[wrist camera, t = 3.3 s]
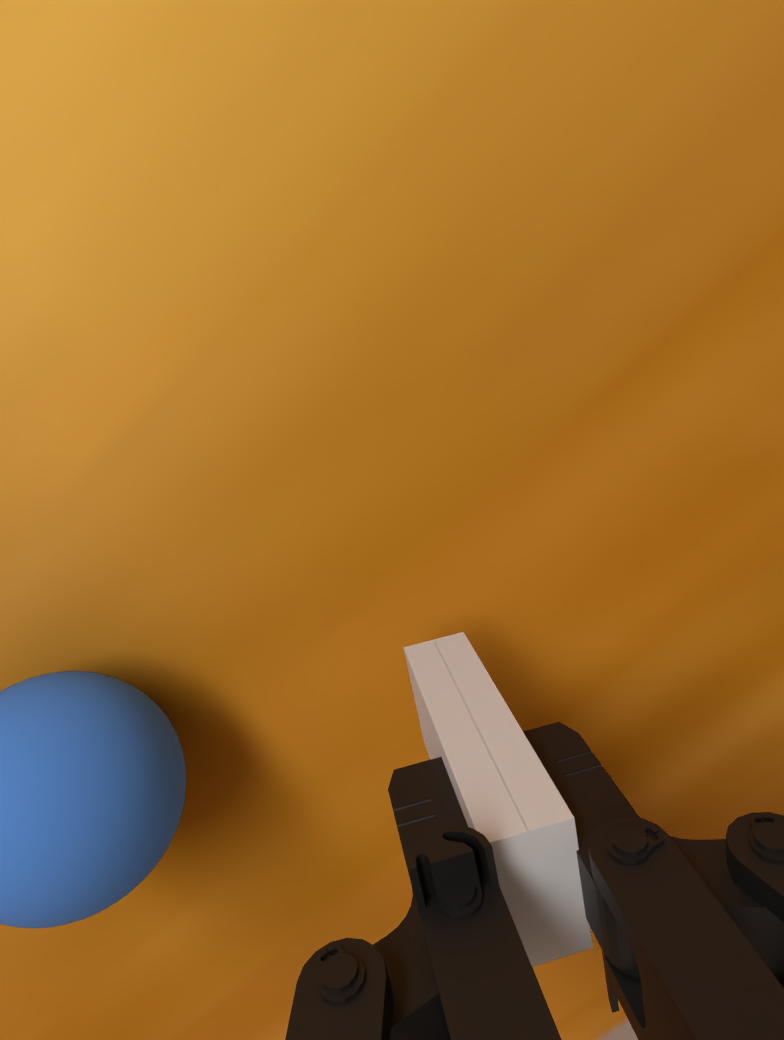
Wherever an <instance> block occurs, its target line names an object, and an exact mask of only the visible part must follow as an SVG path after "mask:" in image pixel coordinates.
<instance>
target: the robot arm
mask: <svg viewBox="0 0 784 1040" xmlns="http://www.w3.org/2000/svg"><path fill="white" fill-rule="evenodd" d="M404 652H405V657H406V662H407V666H408V671H409V675H410V680H411V685H412V689H413V694H414V698H415V703H416V707H417V712H418V717H419V721H420V726H421V730H422V735H423V740H424V743H425V746H426V749H427V752H428V755H429V757H430V760H427V761H424V762H420V763H417V764H413V765H410V766H406V767H402V768H399V769H395V770H394V771H393V775H392V778H391V781H390V785H389V788H388V791H389V795H390V799H391V803H392V807H393V811H394V816H395V820H396V824H397V828H398V832H399V836H400V840H401V844H402V848H403V853H404V857H405V861H406V865H407V869H408V873H409V877H410V881H411V885H412V890H413V898H412V903H411V907H410V909H409V911H408V913H407V915H406V917H405V918H404V920H403V921H402V922H401V923H400V925H399V926H398V927H397V928H396V929H395V930H393V931H392V932H391V933H390V934H388V935H387V936H386V937H384V938H383V939H381V940H380V941H378V942H377V943H375V944H374V945H372V944H370V943H368V942H366V941H365V940H363V939H353V938H345V939H341V940H337V941H333V942H330V943H329V944H327V945H325V946H324V947H322V948H321V949H319V950H318V951H316V952H315V953H314V954H313V955H312V957H311V958H310V959H309V960H308V961H307V962H306V964H305V965H304V966H303V969H302V971H301V974H300V976H299V979H298V981H297V985H296V990H295V995H294V1000H293V1005H292V1010H291V1015H290V1020H289V1025H288V1029H287V1034H286V1039H285V1040H561V1038H560V1035H559V1033H558V1030H557V1028H556V1025H555V1023H554V1020H553V1018H552V1015H551V1013H550V1010H549V1008H548V1005H547V1003H546V1000H545V998H544V995H543V993H542V990H541V988H540V985H539V983H538V981H537V978H536V976H535V973H534V971H533V968H532V967H534V966H537V965H540V964H543V963H546V962H550V961H553V960H556V959H559V958H562V957H565V956H569V955H572V954H575V953H578V952H581V951H584V950H588V949H591V948H593V946H592V939H591V932H590V927H591V929H592V931H593V933H594V935H595V937H596V939H597V940H598V942H599V944H600V946H601V948H602V953H603V961H604V968H605V975H606V982H607V990H608V997H609V1001H610V1005H611V1009H612V1013H613V1012H616V1011H619V1007H618V1000H619V1002H620V1004H621V1006H622V1008H623V1010H624V1012H625V1014H626V1016H627V1018H628V1020H629V1022H630V1024H631V1026H632V1028H633V1030H634V1032H635V1033H636V1035H637V1038H638V1040H784V816H783V815H779V814H774V813H770V812H765V813H750V814H747V815H744V816H741V817H738V818H737V819H736V820H735V821H734V822H733V823H732V824H730V825H729V826H728V830H727V834H726V839H722V840H688V839H679V838H675V837H671V836H669V835H668V834H667V833H666V832H665V831H664V830H663V829H661V828H660V827H659V826H658V825H656V824H654V823H652V822H649V821H647V820H645V819H642V818H640V817H639V816H638V815H637V813H636V812H635V810H634V809H633V808H632V806H631V805H630V804H629V802H628V801H627V799H626V798H625V797H624V795H623V794H622V792H621V791H620V790H619V788H618V787H617V786H616V784H615V783H614V781H613V780H612V779H611V777H610V776H609V775H608V773H607V772H606V770H605V769H604V768H603V767H601V763H600V762H599V761H598V759H597V758H596V757H595V755H594V754H592V752H591V750H590V748H589V747H588V746H587V744H586V743H585V741H584V740H583V739H582V737H581V736H580V734H579V733H577V732H575V731H574V730H572V729H570V728H568V727H567V726H565V725H563V724H562V723H560V722H557V723H553V724H550V725H546V726H543V727H539V728H535V729H532V730H528V731H525V732H523V731H522V729H521V728H520V726H519V724H518V723H517V721H516V719H515V718H514V716H513V714H512V713H511V711H510V709H509V708H508V706H507V704H506V703H505V701H504V699H503V698H502V696H501V694H500V693H499V691H498V689H497V687H496V686H495V684H494V682H493V681H492V679H491V677H490V676H489V674H488V672H487V671H486V669H485V667H484V666H483V664H482V662H481V661H480V659H479V657H478V656H477V654H476V652H475V651H474V649H473V647H472V646H471V644H470V642H469V641H468V639H467V637H466V636H465V634H464V632H461V633H457V634H453V635H450V636H446V637H442V638H438V639H434V640H431V641H427V642H423V643H419V644H415V645H412V646H408V647H404ZM617 998H618V999H617Z"/></svg>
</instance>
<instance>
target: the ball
mask: <svg viewBox="0 0 784 1040" xmlns="http://www.w3.org/2000/svg"><path fill="white" fill-rule="evenodd" d="M185 791H186V767H185V760H184V755H183V750H182V747H181V744H180V741H179V739H178V736H177V734H176V731H175V729H174V727H173V726H172V724H171V722H170V720H169V719H168V717H167V716H166V715H165V714H164V712H163V711H162V710H161V709H160V707H159V706H158V705H157V704H156V703H155V702H154V701H153V700H152V699H151V698H150V697H148V696H147V695H146V694H144V693H143V692H142V691H140V690H139V689H137V688H136V687H134V686H132V685H130V684H129V683H126V682H124V681H122V680H119V679H117V678H114V677H111V676H107V675H104V674H99V673H93V672H84V671H64V672H57V673H50V674H44V675H40V676H36V677H33V678H29V679H27V680H24V681H22V682H19V683H17V684H14V685H12V686H10V687H8V688H6V689H4V690H2V691H1V692H0V924H3V925H8V926H13V927H21V928H47V927H55V926H60V925H65V924H68V923H72V922H75V921H78V920H82V919H85V918H87V917H90V916H92V915H94V914H97V913H99V912H100V911H102V910H104V909H106V908H108V907H109V906H111V905H113V904H114V903H116V902H117V901H119V900H120V899H122V898H123V897H124V896H126V895H127V894H128V893H129V892H131V891H132V890H133V889H134V888H135V887H136V886H137V885H138V884H139V883H140V882H141V881H143V880H144V879H145V878H146V877H147V875H148V874H149V873H150V872H151V871H152V869H153V868H154V867H155V866H156V864H157V863H158V862H159V860H160V859H161V857H162V856H163V854H164V853H165V851H166V850H167V848H168V846H169V844H170V842H171V840H172V838H173V836H174V834H175V831H176V829H177V827H178V824H179V820H180V817H181V813H182V810H183V806H184V801H185Z"/></svg>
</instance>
